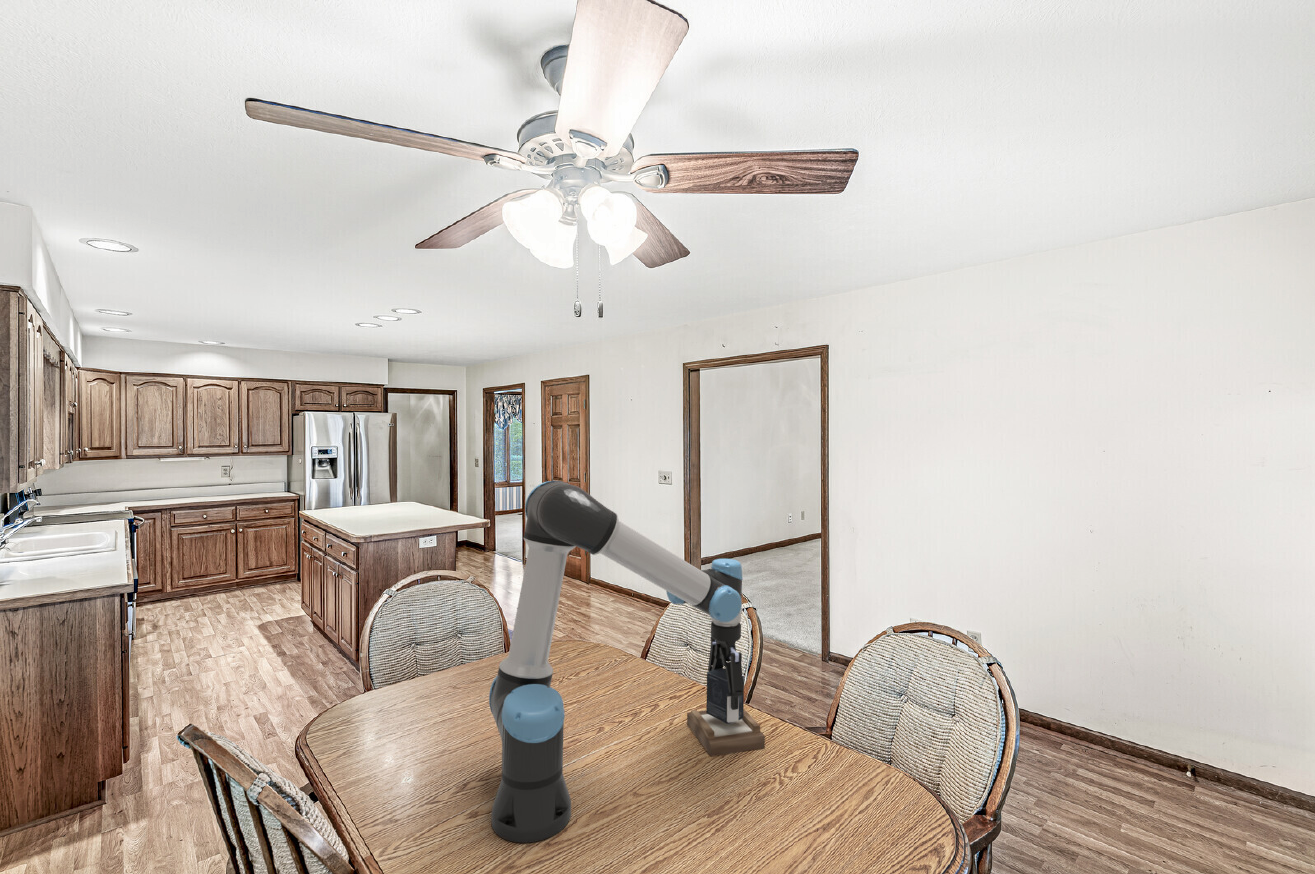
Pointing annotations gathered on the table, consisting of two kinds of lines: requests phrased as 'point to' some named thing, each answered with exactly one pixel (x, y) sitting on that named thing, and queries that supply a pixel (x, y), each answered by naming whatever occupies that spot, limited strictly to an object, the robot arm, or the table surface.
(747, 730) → the stand
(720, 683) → the box
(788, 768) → the table surface
